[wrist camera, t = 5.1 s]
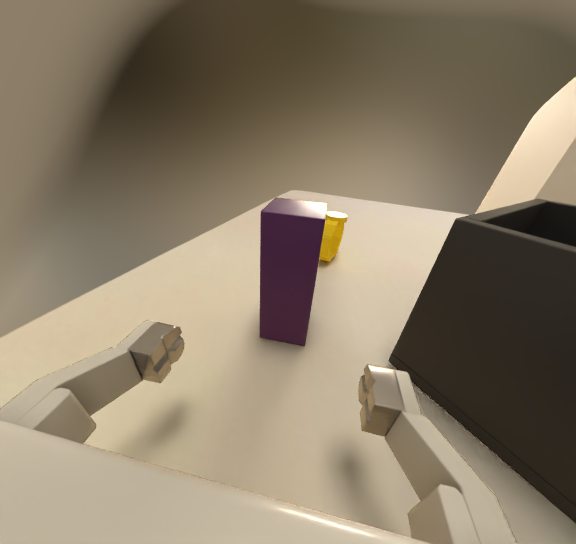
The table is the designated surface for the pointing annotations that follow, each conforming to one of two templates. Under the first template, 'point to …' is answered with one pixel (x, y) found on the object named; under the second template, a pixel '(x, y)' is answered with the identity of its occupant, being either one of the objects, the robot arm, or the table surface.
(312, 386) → the table surface
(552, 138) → the milk
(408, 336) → the waste bin
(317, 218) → the purple rectangular block
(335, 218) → the watch
